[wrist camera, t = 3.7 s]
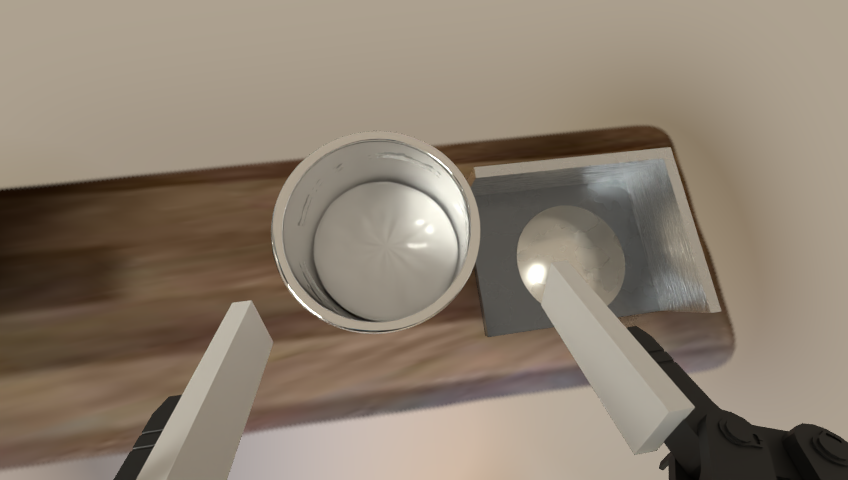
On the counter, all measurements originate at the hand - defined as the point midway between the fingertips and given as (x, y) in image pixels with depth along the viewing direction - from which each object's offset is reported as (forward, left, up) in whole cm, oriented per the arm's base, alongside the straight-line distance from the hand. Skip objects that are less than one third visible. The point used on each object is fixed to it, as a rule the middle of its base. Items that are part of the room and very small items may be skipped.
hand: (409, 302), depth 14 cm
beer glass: (-3, 0, -10) cm, 11 cm away
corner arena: (+1, +13, -10) cm, 17 cm away
